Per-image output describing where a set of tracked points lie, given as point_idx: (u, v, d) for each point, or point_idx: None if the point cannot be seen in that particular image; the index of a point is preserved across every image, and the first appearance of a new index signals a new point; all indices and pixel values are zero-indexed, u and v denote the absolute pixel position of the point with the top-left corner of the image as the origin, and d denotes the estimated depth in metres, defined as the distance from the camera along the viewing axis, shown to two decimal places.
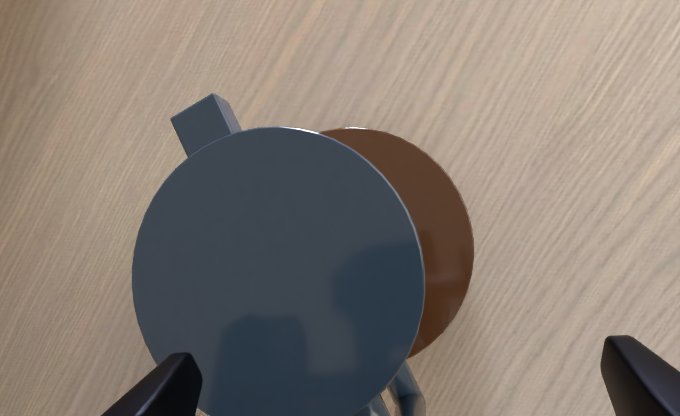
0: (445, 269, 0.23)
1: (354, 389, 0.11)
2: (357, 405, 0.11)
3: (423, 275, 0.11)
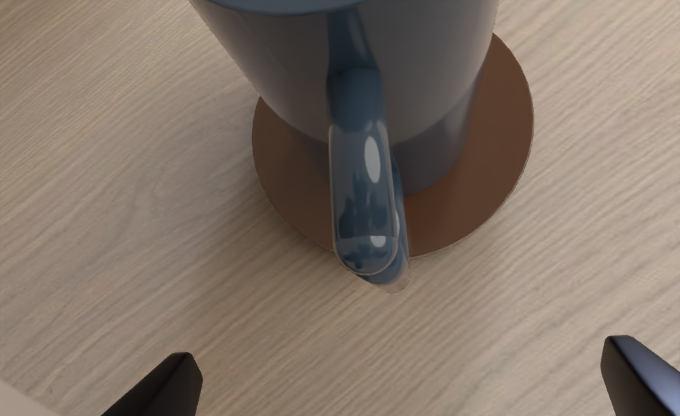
0: (485, 174, 0.19)
1: None
2: None
3: None
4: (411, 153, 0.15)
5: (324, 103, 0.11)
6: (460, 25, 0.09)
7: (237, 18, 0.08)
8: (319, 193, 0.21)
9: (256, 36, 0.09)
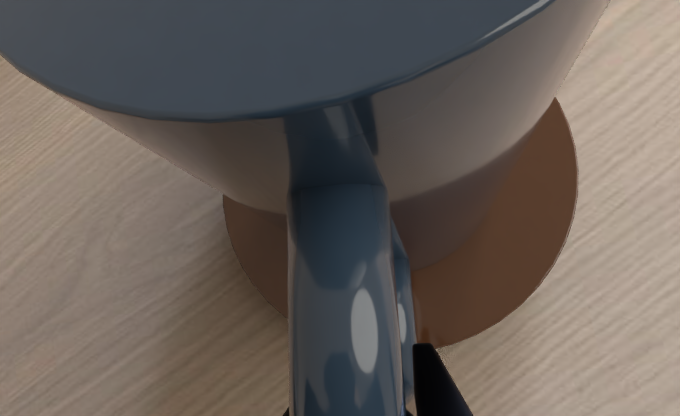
0: (515, 244, 0.15)
1: (373, 25, 0.03)
2: (363, 70, 0.03)
3: None
4: (424, 244, 0.11)
5: None
6: (529, 106, 0.05)
7: (91, 111, 0.04)
8: None
9: (139, 138, 0.04)
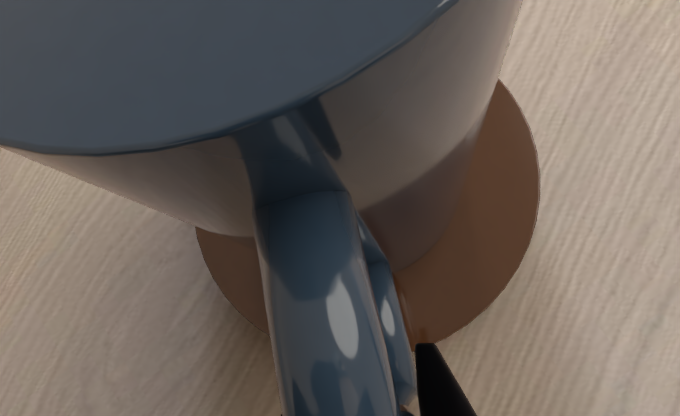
0: (489, 231, 0.15)
1: (303, 36, 0.03)
2: (298, 79, 0.03)
3: None
4: (400, 243, 0.11)
5: None
6: (470, 93, 0.05)
7: (34, 158, 0.04)
8: None
9: (92, 178, 0.04)
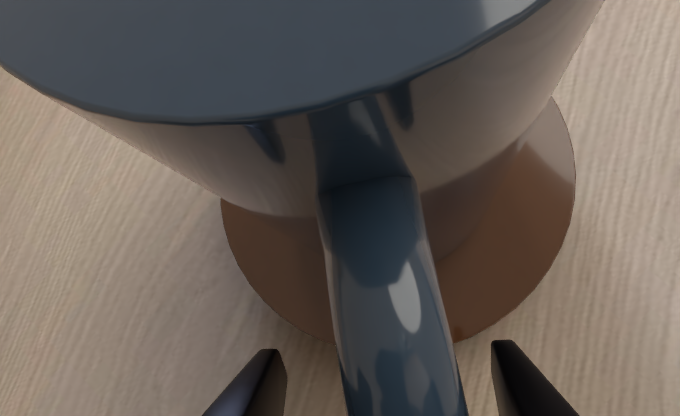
0: (521, 230, 0.15)
1: (413, 8, 0.03)
2: (411, 52, 0.03)
3: None
4: (439, 238, 0.11)
5: (314, 217, 0.07)
6: (550, 82, 0.05)
7: (121, 126, 0.04)
8: (312, 271, 0.16)
9: (169, 150, 0.04)
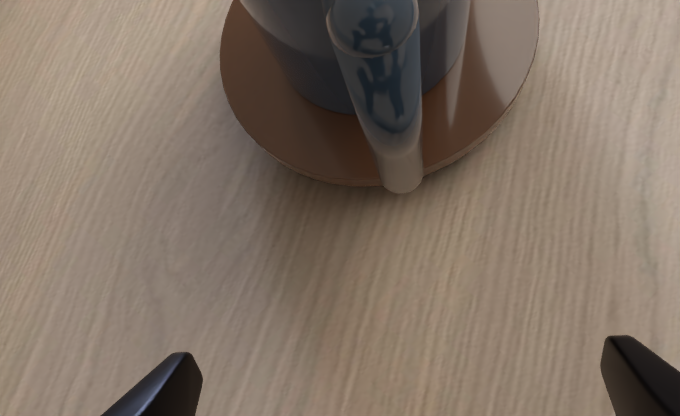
0: (490, 68, 0.17)
1: None
2: None
3: None
4: None
5: None
6: None
7: None
8: (303, 117, 0.18)
9: None
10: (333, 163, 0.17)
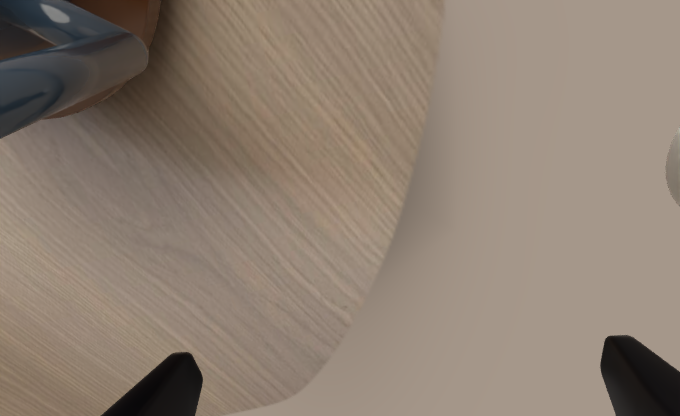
0: None
1: None
2: None
3: None
4: None
5: None
6: None
7: None
8: None
9: None
10: None
